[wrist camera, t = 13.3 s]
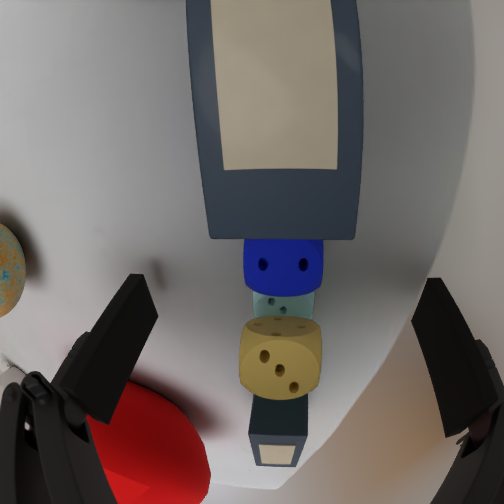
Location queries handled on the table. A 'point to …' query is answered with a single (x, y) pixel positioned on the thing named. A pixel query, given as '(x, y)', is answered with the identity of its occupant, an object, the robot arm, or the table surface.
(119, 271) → the table surface
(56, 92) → the table surface
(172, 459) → the vase
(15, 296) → the ball
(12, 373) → the potted plant
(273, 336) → the dice
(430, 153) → the table surface
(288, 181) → the blue block
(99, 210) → the table surface
